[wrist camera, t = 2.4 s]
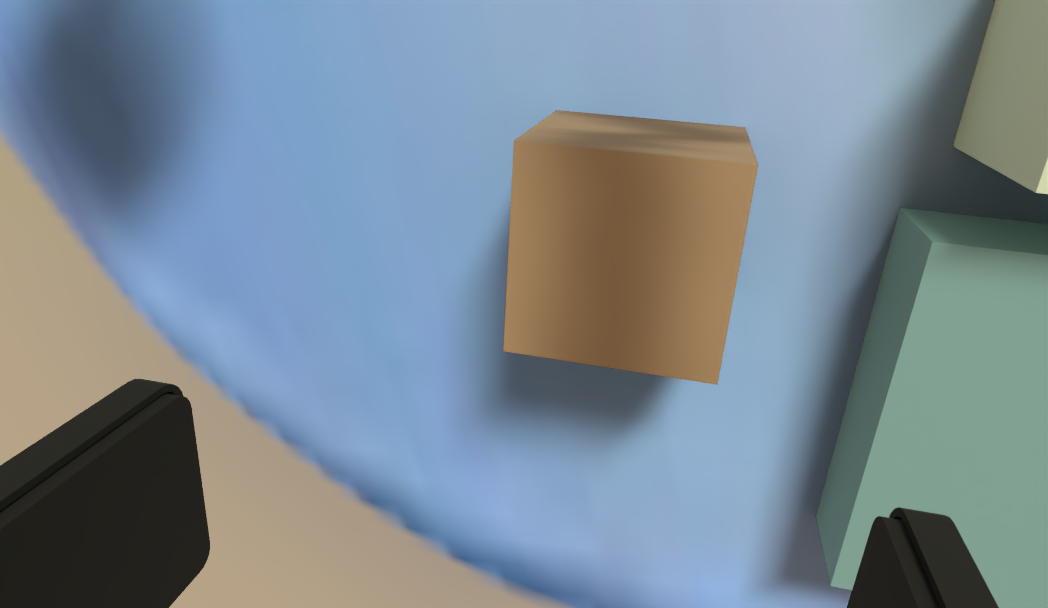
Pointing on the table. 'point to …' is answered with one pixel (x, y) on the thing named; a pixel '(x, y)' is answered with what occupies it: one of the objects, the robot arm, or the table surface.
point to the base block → (951, 401)
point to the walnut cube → (627, 242)
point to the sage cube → (1011, 95)
